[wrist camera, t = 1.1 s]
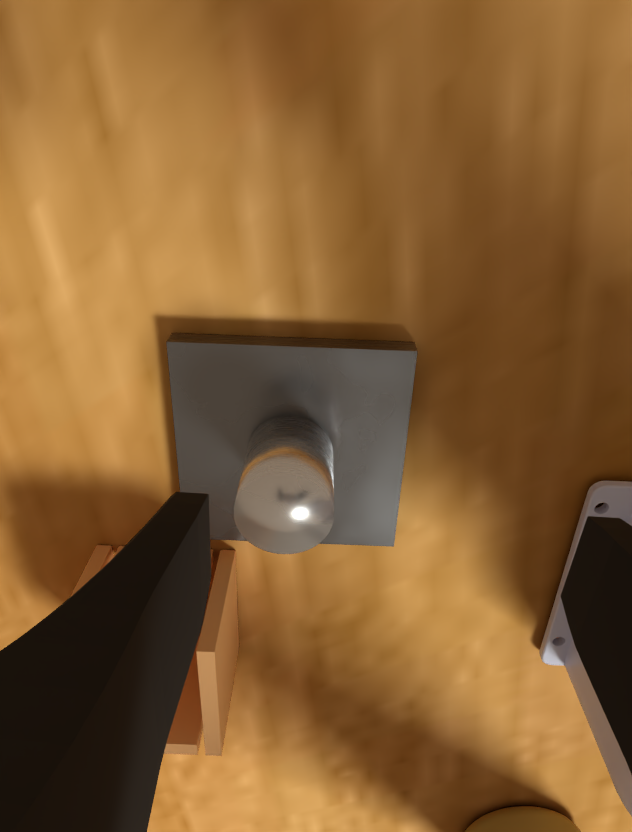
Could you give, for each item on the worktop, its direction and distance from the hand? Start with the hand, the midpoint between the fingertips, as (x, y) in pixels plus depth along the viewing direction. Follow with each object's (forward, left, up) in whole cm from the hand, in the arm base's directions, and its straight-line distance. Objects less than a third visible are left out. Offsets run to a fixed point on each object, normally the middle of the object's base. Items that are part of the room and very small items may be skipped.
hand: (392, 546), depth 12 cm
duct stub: (-3, +2, -10) cm, 11 cm away
